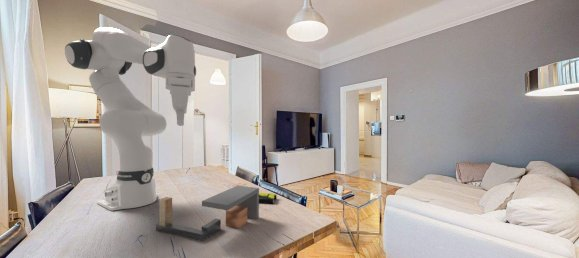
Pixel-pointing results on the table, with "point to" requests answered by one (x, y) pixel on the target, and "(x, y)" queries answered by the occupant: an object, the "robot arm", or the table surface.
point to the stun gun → (267, 198)
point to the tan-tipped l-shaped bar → (182, 231)
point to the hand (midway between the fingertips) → (180, 125)
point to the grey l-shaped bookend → (236, 200)
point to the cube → (236, 216)
